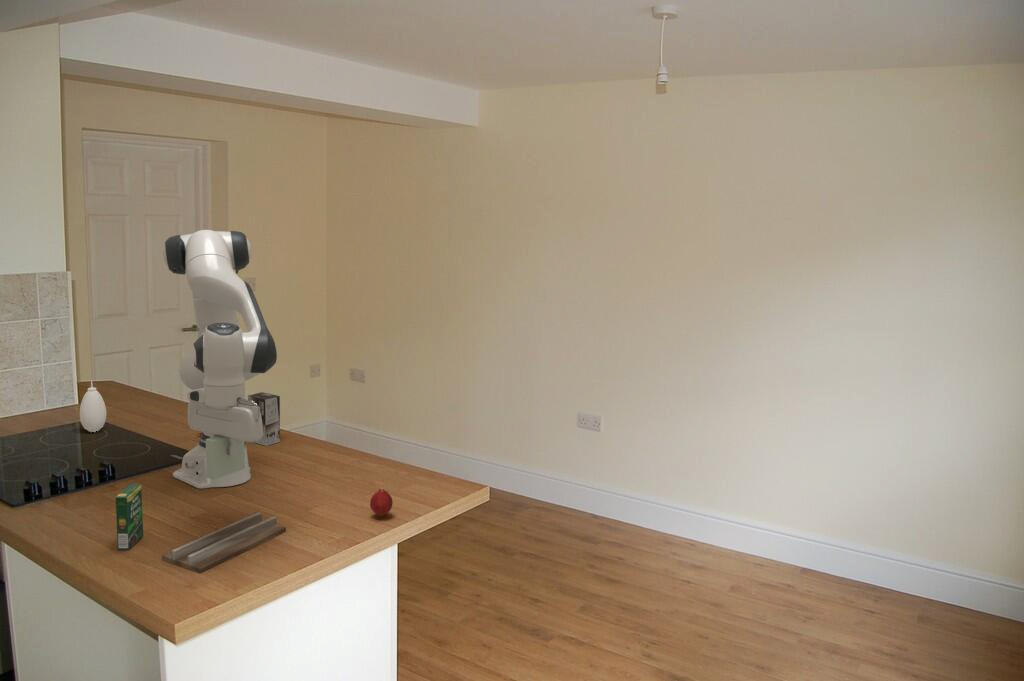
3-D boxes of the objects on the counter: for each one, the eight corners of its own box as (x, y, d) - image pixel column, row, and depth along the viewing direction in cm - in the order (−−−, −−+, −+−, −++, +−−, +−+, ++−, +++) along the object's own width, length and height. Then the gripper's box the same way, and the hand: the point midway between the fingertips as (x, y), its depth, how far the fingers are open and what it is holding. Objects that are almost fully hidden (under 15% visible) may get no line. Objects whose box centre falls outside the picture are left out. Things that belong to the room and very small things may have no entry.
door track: (162, 560, 169) (161, 547, 168) (249, 520, 192) (249, 509, 191) (200, 573, 163) (200, 560, 163) (286, 531, 186) (286, 519, 186)
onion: (371, 512, 201) (371, 483, 199) (393, 512, 201) (393, 483, 200) (368, 520, 195) (369, 491, 194) (391, 521, 196) (392, 491, 194)
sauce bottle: (98, 435, 255) (96, 383, 252) (75, 434, 255) (73, 382, 252) (111, 429, 262) (109, 378, 259) (89, 428, 262) (86, 377, 259)
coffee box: (281, 442, 257) (280, 395, 254) (265, 446, 251) (265, 399, 249) (263, 437, 261) (262, 391, 259) (247, 441, 256) (247, 394, 253)
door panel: (206, 477, 171) (205, 439, 170) (237, 466, 179) (236, 430, 178) (214, 479, 170) (213, 441, 169) (244, 468, 178) (244, 431, 177)
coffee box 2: (129, 551, 172) (127, 496, 170) (116, 551, 172) (114, 496, 170) (144, 536, 180) (142, 483, 178) (132, 536, 180) (130, 483, 178)
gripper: (269, 399, 170) (269, 458, 172) (204, 386, 179) (205, 443, 181) (248, 404, 164) (248, 465, 167) (181, 391, 173) (183, 449, 175)
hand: (225, 453), depth 174 cm, fingers closed on door panel, 2 cm apart
